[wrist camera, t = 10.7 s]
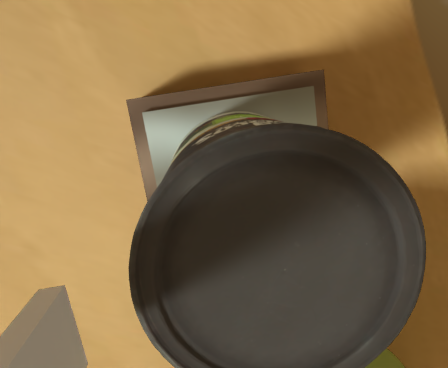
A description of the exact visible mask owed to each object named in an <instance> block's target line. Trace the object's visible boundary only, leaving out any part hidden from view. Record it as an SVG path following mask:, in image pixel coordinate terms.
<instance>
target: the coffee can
mask: <svg viewBox="0 0 448 368" xmlns="http://www.w3.org/2000/svg"><path fill="white" fill-rule="evenodd" d="M425 260H426V241H425V231H424V226H423V222H422V218H421V215H420V212H419V209H418V206H417V204H416V202H415V199H414V198H413V196H412V194H411V192H410V191H409V189H408V187H407V186H406V184H405V183H404V181H403V180H402V179H401V177H400V176H399V175H398V174H397V172H396V171H395V170H394V169H393V168H392V167H391V165H390V164H389V163H388V162H386V161H385V160H384V159H383V158H382V157H381V156H380V155H379V154H377V153H376V152H375V151H373V150H372V149H371V148H369V147H368V146H366V145H365V144H363V143H361V142H359V141H357V140H355V139H353V138H351V137H349V136H347V135H344V134H342V133H339V132H336V131H332V130H328V129H325V128H322V127H319V126H312V125H304V124H295V123H286V122H282V121H278V120H274V119H270V118H268V117H266V116H263V115H260V114H256V113H252V112H246V111H235V112H228V113H222V114H219V115H216V116H213V117H211V118H209V119H207V120H205V121H203V122H201V123H200V124H198V125H197V126H196V127H194V128H193V129H192V130H191V131H190V132H189V133H188V134H187V135H186V136H185V137H184V138H183V140H182V141H181V142H180V144H179V145H178V147H177V149H176V151H175V153H174V155H173V158H172V160H171V164H170V166H169V168H168V170H167V172H166V174H165V176H164V178H163V180H162V181H161V183H160V184H159V185H158V187H157V188H156V190H155V191H154V193H153V194H152V196H151V197H150V199H149V200H148V202H147V204H146V206H145V208H144V210H143V212H142V214H141V216H140V219H139V221H138V224H137V226H136V229H135V232H134V235H133V239H132V245H131V251H130V259H129V282H130V290H131V297H132V301H133V304H134V308H135V311H136V314H137V316H138V319H139V321H140V323H141V325H142V327H143V329H144V331H145V333H146V334H147V336H148V338H149V339H150V341H151V342H152V344H153V345H154V346H155V348H156V349H157V350H158V351H159V352H160V353H161V355H162V356H163V357H164V358H165V359H166V360H167V361H168V362H169V363H170V364H171V365H172V366H174V367H175V368H365V367H366V366H368V365H369V364H370V363H371V362H372V361H373V360H375V359H376V358H377V357H378V356H379V355H380V354H381V353H382V352H383V351H384V350H385V349H386V348H387V347H388V346H389V345H390V344H391V343H392V341H393V340H394V339H395V338H396V337H397V336H398V334H399V333H400V331H401V330H402V328H403V327H404V325H405V324H406V322H407V320H408V318H409V317H410V315H411V313H412V311H413V309H414V307H415V305H416V302H417V299H418V296H419V293H420V290H421V286H422V282H423V276H424V270H425Z"/></svg>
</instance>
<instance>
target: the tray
mask: <svg viewBox="0 0 448 368" xmlns="http://www.w3.org/2000/svg"><path fill="white" fill-rule="evenodd" d="M126 102H127V106H128V111H129V116H130V121H131V125H132V130H133V135H134V140H135V144H136V149H137V154H138V159H139V163H140V168H141V173H142V178H143V182H144V187H145V192H146V197H147V201H148V200H149V199H150V197H151V196H152V194H153V193H154V191H155V190H156V188H157V187H158V185H159V184H160V183H161V181H162V180H163V178H164V176H165V174H166V172H167V170H168V168H169V166H170V164H171V160H172V158H173V155H174V153H175V151H176V149H177V147H178V145H179V144H180V142H181V141H182V140H183V138H184V137H185V136H186V135H187V134H188V133H189V132H190V131H191V130H192V129H193V128H194V127H196V126H197V125H198V124H200V123H201V122H203V121H205V120H207V119H209V118H211V117H213V116H216V115H219V114H222V113H228V112H235V111H246V112H252V113H256V114H260V115H263V116H266V117H268V118H270V119H274V120H278V121H282V122H286V123H295V124H304V125H312V126H319V127H322V128H325V129H328V117H327V105H326V92H325V79H324V70H318V71H311V72H305V73H298V74H292V75H285V76H279V77H272V78H266V79H259V80H253V81H246V82H240V83H233V84H227V85H220V86H213V87H207V88H200V89H194V90H187V91H181V92H174V93H168V94H161V95H155V96H148V97H142V98H135V99H129V100H126Z"/></svg>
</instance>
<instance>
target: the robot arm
mask: <svg viewBox="0 0 448 368" xmlns="http://www.w3.org/2000/svg"><path fill="white" fill-rule="evenodd" d="M87 365H88V362H87V359H86V355H85V352H84V349H83V345H82V342H81V338H80V335H79V332H78V328H77V325H76V321H75V318H74V315H73V311H72V308H71V305H70V301H69V298H68V294H67V291H66V288H65V285H63V286H57V287H51V288H45V289H39V290H38V291H37V292H36V293H35V294H34V296H33V297H32V298H31V299H30V301H29V302H28V303H27V304H26V305H25V307H24V308H23V309H22V310H21V312H20V313H19V314H18V315H17V316H16V318H15V319H14V320H13V321H12V323H11V324H10V325H9V326H8V327H7V329H6V330H5V331H4V332H3V334H2V335H1V336H0V368H86V367H87Z"/></svg>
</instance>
